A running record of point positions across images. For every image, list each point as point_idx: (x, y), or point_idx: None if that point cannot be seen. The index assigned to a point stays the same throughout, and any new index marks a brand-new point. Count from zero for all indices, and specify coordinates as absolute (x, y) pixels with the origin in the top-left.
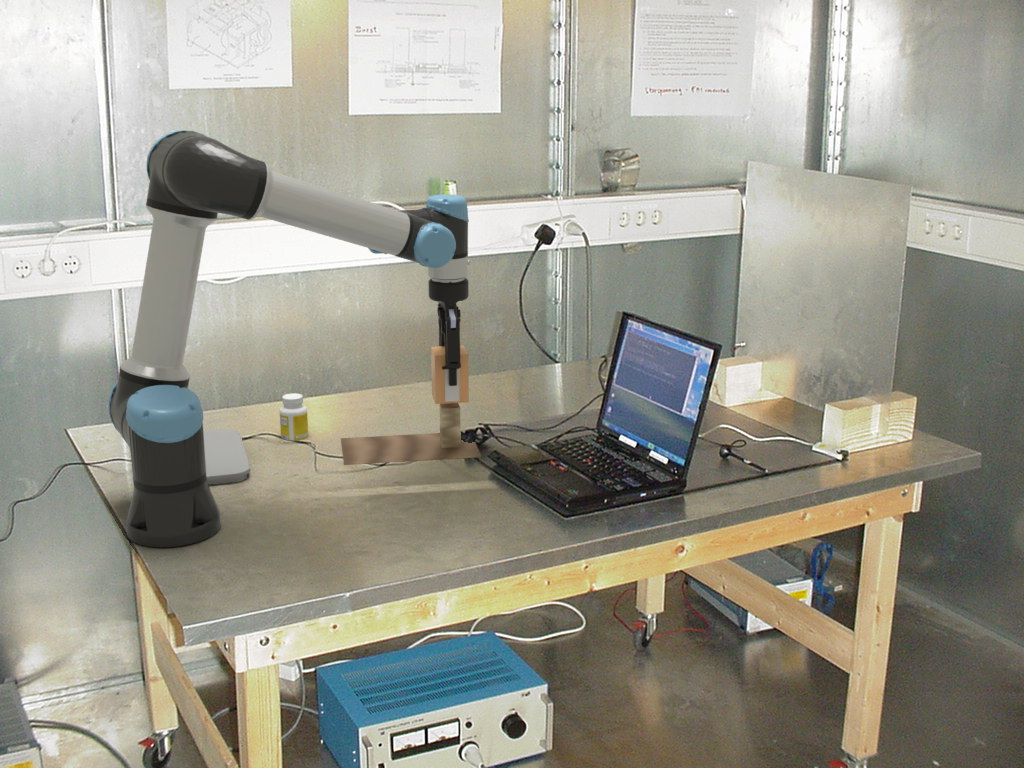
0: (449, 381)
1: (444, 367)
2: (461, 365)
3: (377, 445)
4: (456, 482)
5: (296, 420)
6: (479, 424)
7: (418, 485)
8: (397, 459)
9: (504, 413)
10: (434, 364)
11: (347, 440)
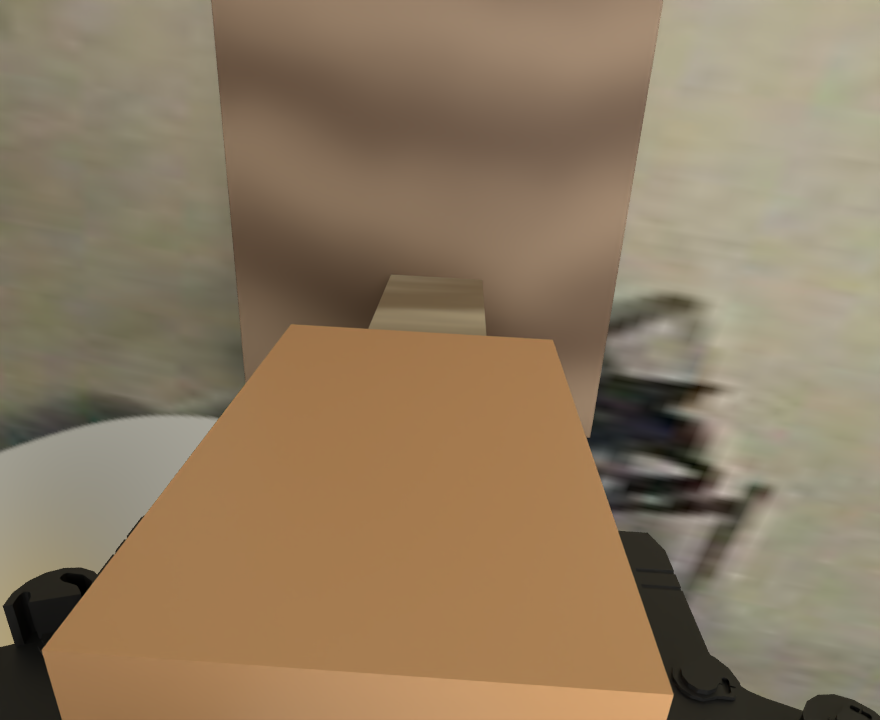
0: (129, 534)
1: (16, 612)
2: None
3: None
4: (54, 265)
5: None
6: (753, 487)
7: (7, 85)
8: (247, 3)
9: (846, 597)
10: (187, 530)
11: None
